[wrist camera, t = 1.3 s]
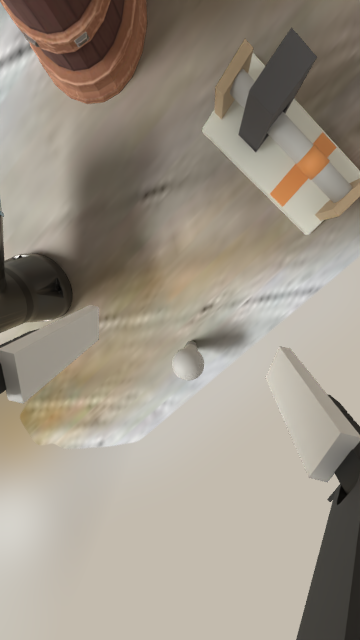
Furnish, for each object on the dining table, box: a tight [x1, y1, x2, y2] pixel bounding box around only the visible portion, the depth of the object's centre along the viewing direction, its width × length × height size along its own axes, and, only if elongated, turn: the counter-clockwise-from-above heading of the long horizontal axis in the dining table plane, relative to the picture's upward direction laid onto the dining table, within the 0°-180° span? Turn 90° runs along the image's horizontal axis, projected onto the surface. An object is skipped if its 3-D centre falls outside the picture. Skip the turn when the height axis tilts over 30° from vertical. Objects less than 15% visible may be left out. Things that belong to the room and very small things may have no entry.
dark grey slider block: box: [238, 28, 317, 152], centre depth 24 cm, size 4×5×9 cm, turn 141°
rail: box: [202, 39, 360, 235], centre depth 27 cm, size 24×10×6 cm, turn 51°
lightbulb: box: [172, 341, 204, 380], centre depth 39 cm, size 6×6×11 cm
